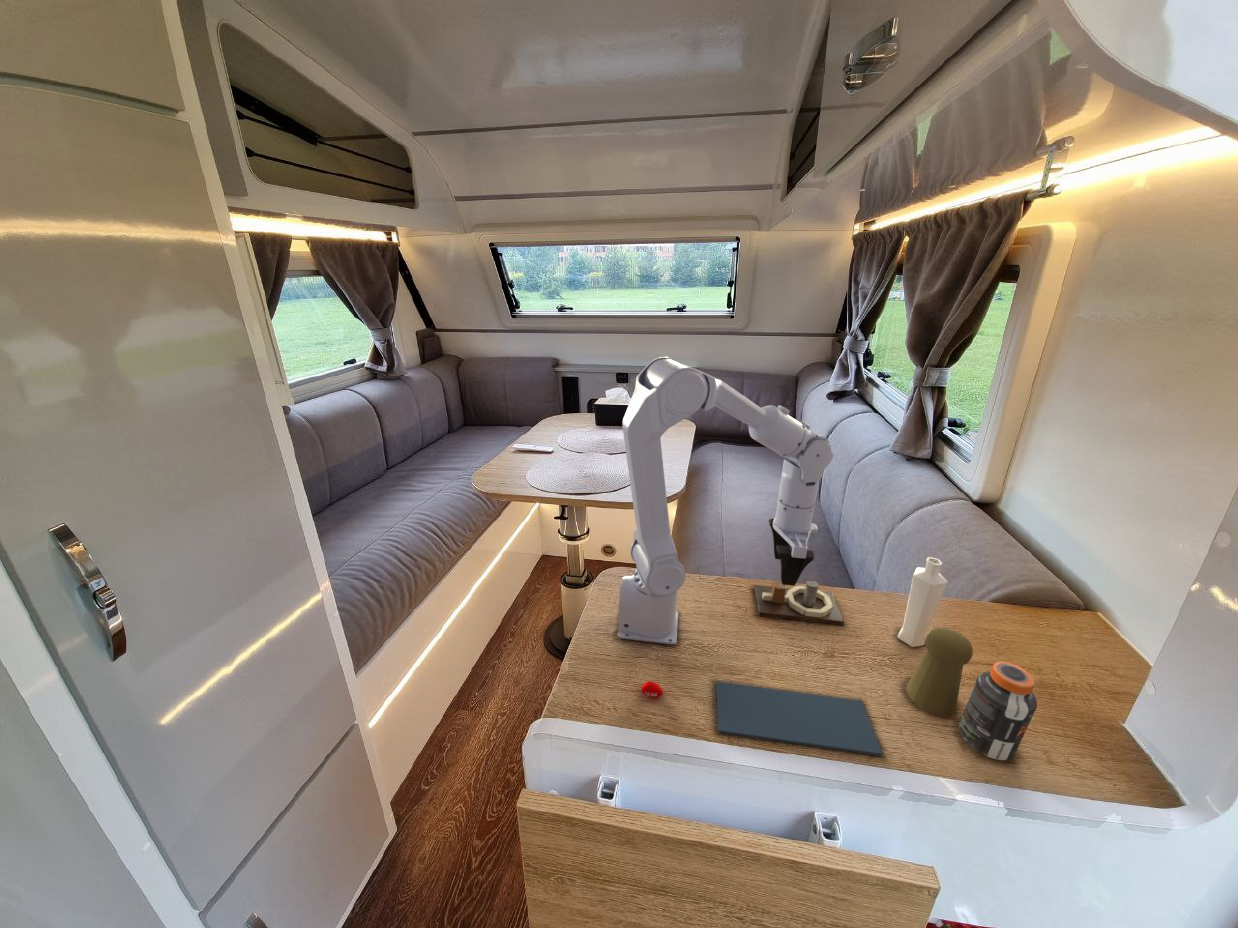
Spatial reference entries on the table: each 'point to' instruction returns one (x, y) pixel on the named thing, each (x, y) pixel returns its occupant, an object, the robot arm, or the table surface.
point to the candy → (652, 689)
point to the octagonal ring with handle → (780, 597)
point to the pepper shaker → (940, 672)
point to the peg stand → (803, 599)
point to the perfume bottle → (922, 602)
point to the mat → (795, 718)
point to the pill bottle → (999, 711)
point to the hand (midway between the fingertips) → (784, 570)
